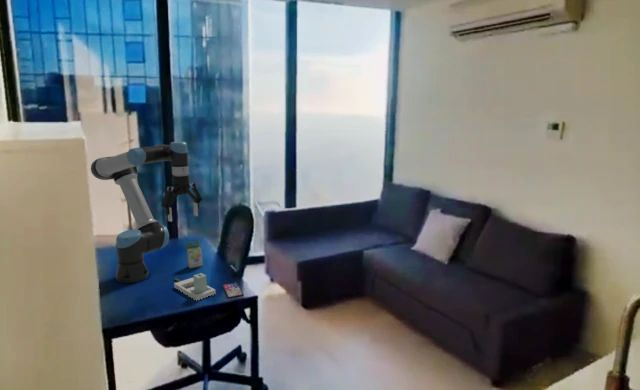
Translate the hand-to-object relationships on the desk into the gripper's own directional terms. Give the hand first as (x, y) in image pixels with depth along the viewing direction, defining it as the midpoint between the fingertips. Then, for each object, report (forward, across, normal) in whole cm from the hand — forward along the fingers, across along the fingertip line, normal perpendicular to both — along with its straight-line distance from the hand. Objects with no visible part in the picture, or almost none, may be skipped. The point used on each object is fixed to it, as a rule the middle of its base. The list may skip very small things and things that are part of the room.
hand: (183, 218), depth 217 cm
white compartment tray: (+32, -4, -10) cm, 33 cm away
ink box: (+32, +12, +13) cm, 36 cm away
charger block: (+31, -4, -20) cm, 37 cm away
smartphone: (+32, +9, -26) cm, 42 cm away
